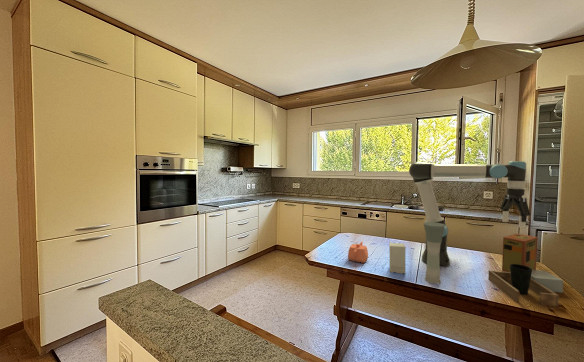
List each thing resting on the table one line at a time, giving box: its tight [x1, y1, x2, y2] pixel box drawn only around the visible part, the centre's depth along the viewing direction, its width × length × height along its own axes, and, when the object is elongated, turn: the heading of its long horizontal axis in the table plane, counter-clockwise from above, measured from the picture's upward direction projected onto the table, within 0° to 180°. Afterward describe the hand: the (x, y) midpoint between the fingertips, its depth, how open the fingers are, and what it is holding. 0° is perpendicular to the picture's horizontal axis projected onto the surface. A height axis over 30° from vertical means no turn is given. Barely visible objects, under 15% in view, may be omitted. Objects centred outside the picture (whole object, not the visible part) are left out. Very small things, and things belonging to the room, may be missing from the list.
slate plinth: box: [531, 269, 564, 294], centre depth 120 cm, size 11×11×6 cm
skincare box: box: [388, 242, 406, 275], centre depth 137 cm, size 8×7×16 cm
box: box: [501, 233, 539, 272], centre depth 136 cm, size 17×9×20 cm, turn 117°
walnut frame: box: [487, 270, 560, 308], centre depth 114 cm, size 15×22×5 cm
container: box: [423, 221, 445, 284], centre depth 125 cm, size 10×10×30 cm
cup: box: [510, 264, 532, 296], centre depth 114 cm, size 8×8×12 cm
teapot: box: [347, 241, 369, 264], centre depth 155 cm, size 12×18×10 cm, turn 149°
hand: (513, 224), depth 139 cm, fingers open, 13 cm apart
